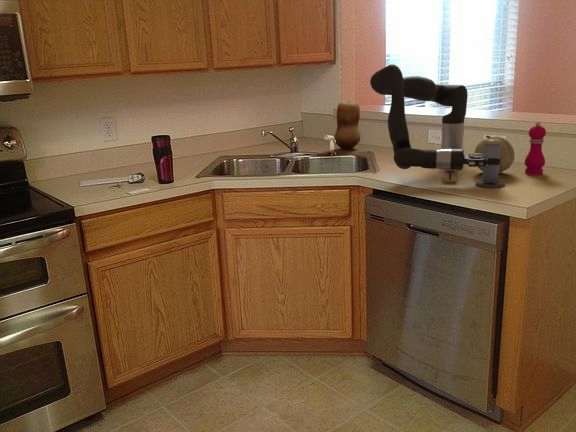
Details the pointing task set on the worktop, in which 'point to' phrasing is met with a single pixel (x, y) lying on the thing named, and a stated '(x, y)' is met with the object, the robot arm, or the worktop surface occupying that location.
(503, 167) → the cantaloupe
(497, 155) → the canister
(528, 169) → the pepper mill
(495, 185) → the coaster
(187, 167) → the worktop surface
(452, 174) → the t block
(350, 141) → the butternut squash
